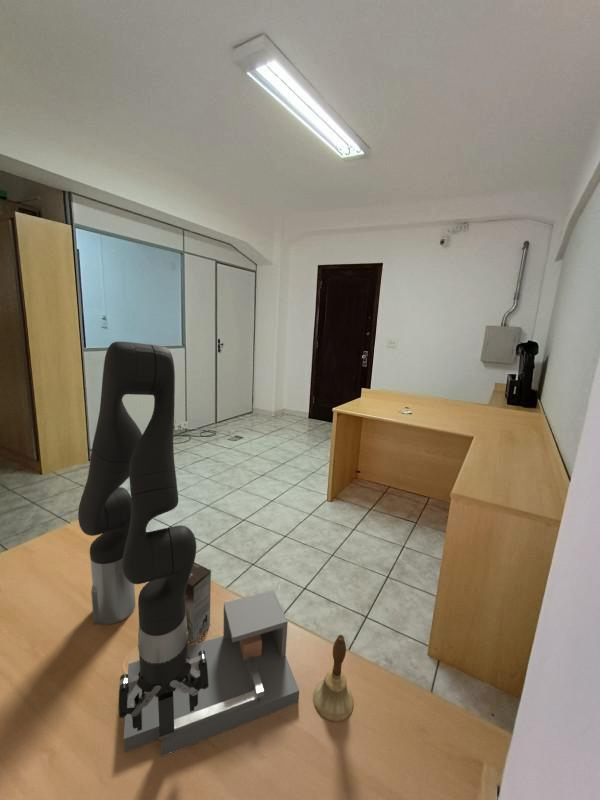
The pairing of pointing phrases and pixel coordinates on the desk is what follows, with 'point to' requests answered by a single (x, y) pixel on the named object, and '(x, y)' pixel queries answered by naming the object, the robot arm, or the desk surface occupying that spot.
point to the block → (251, 646)
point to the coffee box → (198, 601)
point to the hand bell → (334, 688)
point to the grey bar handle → (210, 713)
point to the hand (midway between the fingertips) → (166, 715)
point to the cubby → (227, 675)
